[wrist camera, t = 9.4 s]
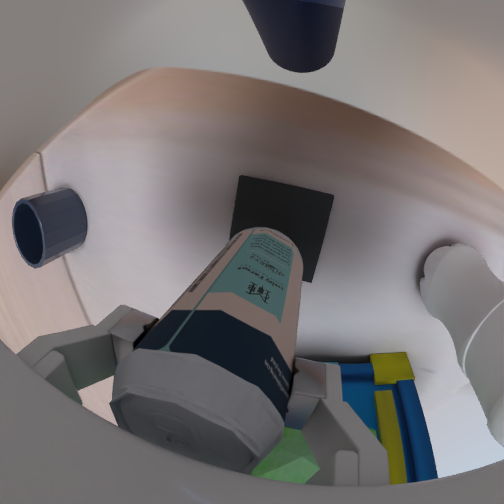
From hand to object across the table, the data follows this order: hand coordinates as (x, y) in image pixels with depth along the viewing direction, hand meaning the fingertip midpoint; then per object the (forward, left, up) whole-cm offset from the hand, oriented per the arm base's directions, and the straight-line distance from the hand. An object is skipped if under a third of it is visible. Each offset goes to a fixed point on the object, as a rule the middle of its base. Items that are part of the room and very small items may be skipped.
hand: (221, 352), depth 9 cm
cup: (+4, -26, -16) cm, 31 cm away
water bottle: (0, +17, -16) cm, 24 cm away
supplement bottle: (0, 0, -8) cm, 8 cm away
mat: (0, 0, -16) cm, 16 cm away
